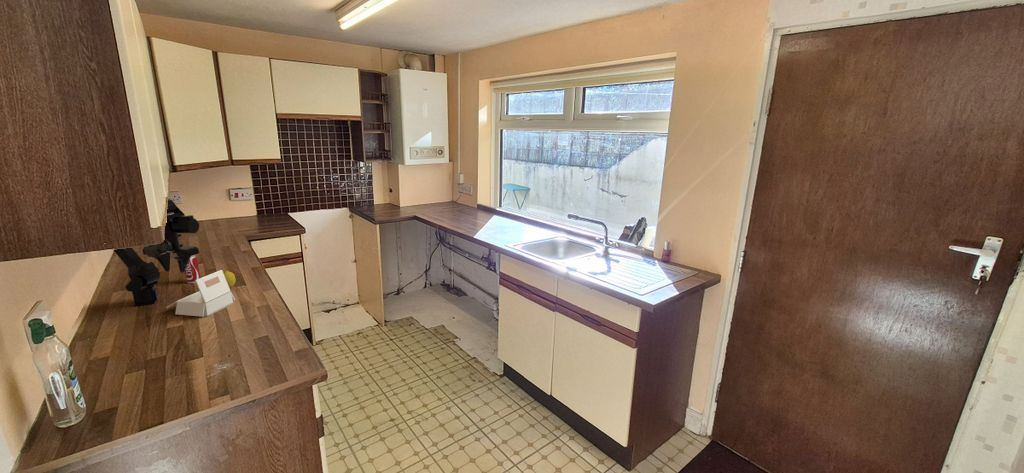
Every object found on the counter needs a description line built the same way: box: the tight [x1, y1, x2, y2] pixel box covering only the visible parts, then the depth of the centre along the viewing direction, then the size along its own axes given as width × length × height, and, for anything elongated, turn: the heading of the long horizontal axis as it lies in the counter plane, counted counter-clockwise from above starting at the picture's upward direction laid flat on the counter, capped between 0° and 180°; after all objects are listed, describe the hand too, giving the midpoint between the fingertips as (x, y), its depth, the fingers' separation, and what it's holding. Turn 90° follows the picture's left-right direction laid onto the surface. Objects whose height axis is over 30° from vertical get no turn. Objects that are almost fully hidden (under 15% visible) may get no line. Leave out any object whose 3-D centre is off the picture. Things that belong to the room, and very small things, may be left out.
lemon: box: [223, 270, 237, 289], centre depth 178 cm, size 6×6×8 cm
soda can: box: [184, 254, 202, 284], centre depth 185 cm, size 5×5×12 cm
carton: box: [165, 290, 236, 317], centre depth 159 cm, size 17×15×5 cm
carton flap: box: [195, 269, 231, 303], centre depth 156 cm, size 1×12×9 cm, turn 172°
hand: (175, 271), depth 161 cm, fingers open, 6 cm apart
